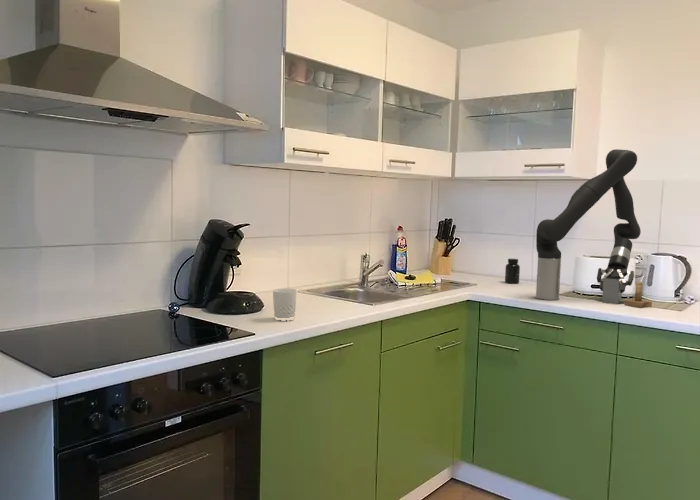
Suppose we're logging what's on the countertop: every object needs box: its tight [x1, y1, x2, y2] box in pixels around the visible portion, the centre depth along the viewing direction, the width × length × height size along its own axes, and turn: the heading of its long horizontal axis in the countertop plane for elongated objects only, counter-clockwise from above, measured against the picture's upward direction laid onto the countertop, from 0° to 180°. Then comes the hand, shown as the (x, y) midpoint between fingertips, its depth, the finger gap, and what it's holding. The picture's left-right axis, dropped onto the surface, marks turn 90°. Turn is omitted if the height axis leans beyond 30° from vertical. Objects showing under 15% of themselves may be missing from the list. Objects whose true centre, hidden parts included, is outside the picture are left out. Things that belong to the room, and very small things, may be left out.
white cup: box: [272, 288, 297, 318], centre depth 199 cm, size 8×8×10 cm
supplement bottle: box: [504, 258, 521, 285], centre depth 290 cm, size 7×7×12 cm
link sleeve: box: [601, 277, 623, 305], centre depth 241 cm, size 6×6×10 cm
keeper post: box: [624, 280, 653, 309], centre depth 234 cm, size 7×7×10 cm
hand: (611, 290), depth 240 cm, fingers open, 7 cm apart
